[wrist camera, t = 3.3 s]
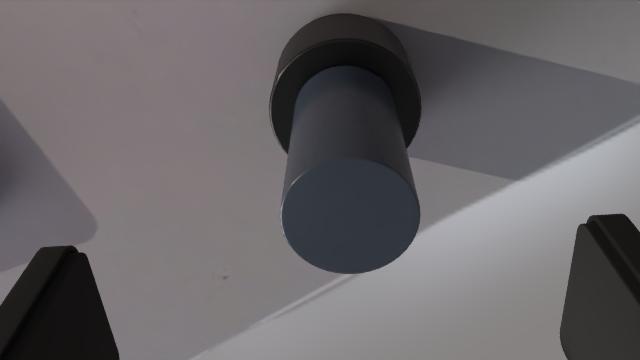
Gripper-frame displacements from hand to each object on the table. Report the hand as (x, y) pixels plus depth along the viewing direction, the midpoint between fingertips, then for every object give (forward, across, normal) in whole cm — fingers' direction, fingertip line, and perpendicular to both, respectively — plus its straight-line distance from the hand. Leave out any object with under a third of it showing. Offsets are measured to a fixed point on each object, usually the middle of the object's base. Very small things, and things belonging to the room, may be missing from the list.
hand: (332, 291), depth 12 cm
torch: (+11, -1, 0) cm, 11 cm away
